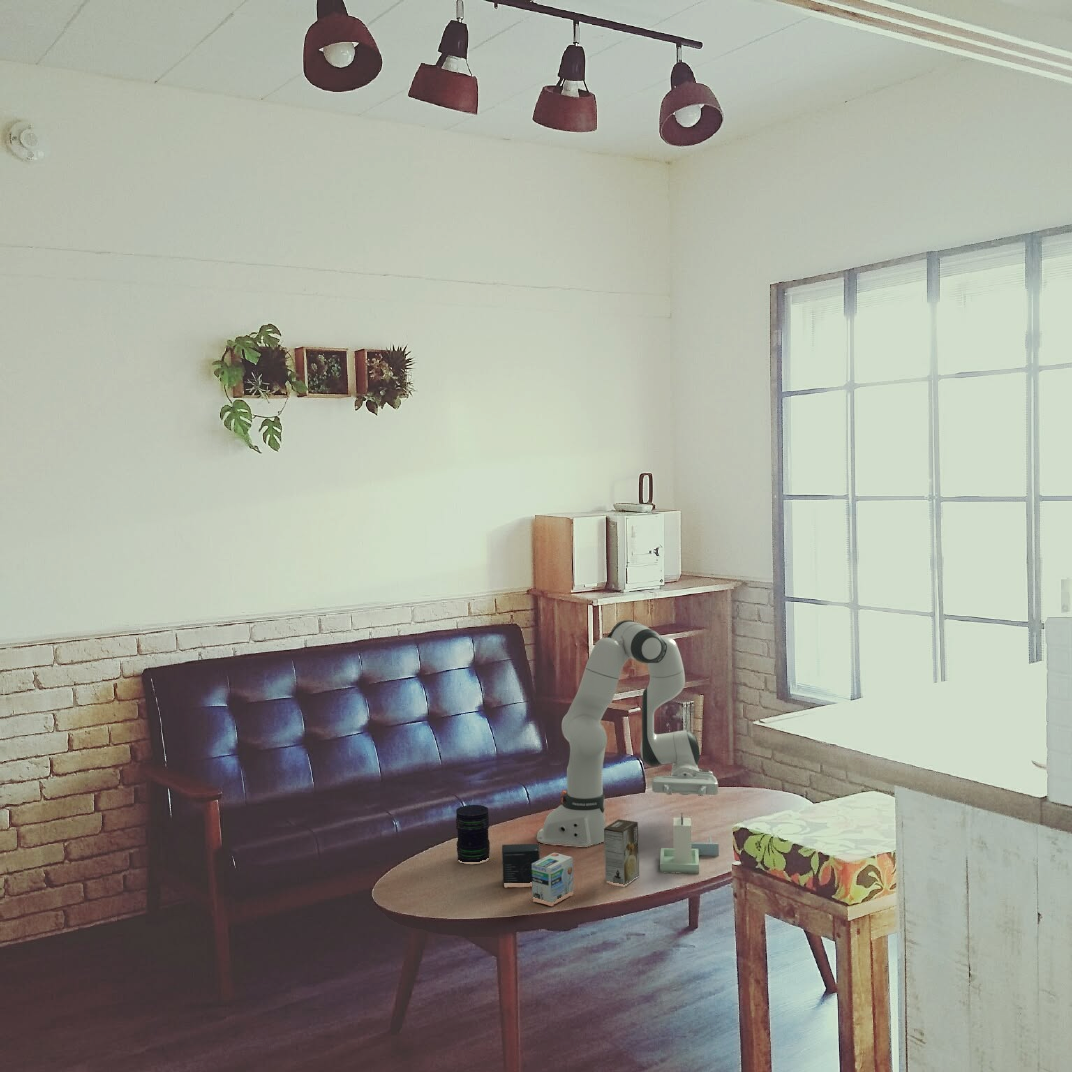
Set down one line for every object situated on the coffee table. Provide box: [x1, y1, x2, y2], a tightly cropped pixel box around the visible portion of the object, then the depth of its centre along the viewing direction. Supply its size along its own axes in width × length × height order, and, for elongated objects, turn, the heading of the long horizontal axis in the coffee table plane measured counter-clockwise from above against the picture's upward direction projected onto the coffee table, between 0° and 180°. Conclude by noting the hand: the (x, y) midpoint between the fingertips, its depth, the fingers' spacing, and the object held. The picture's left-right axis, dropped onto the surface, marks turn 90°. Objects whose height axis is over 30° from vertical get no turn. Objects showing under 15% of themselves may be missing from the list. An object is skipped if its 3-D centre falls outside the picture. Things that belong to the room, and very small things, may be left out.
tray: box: [659, 847, 700, 874], centre depth 327 cm, size 11×13×2 cm
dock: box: [691, 835, 720, 857], centre depth 338 cm, size 11×8×4 cm
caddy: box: [673, 812, 692, 864], centre depth 326 cm, size 5×7×14 cm
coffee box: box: [603, 818, 640, 885], centre depth 315 cm, size 9×6×16 cm
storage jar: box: [455, 804, 491, 862], centre depth 335 cm, size 10×10×15 cm
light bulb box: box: [531, 852, 574, 903], centre depth 304 cm, size 11×7×11 cm, turn 143°
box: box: [501, 842, 541, 884], centre depth 315 cm, size 11×7×10 cm, turn 91°
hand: (684, 792), depth 341 cm, fingers open, 8 cm apart
